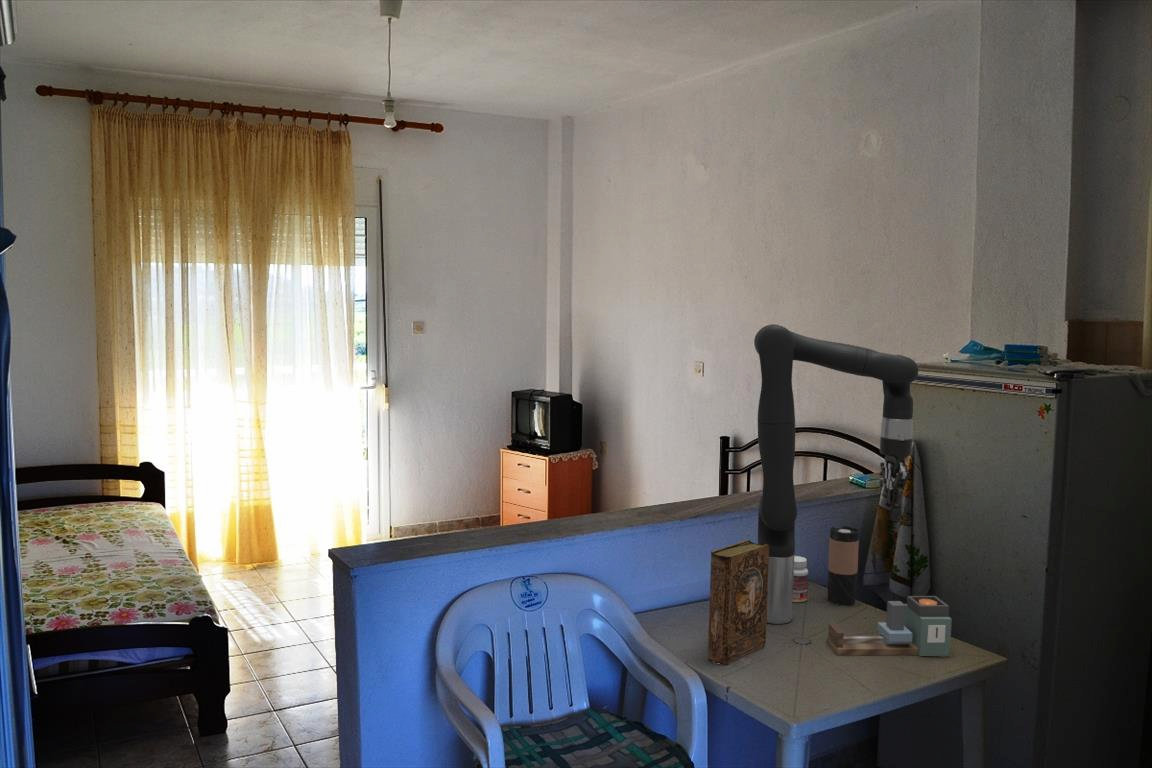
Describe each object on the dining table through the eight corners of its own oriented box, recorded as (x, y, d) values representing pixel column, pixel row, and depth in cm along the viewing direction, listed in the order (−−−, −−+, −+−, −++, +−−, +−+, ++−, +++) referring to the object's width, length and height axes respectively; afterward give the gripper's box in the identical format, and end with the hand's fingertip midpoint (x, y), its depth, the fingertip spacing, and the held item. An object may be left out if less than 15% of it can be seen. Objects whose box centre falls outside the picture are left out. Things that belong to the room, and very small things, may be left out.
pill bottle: (811, 600, 247) (813, 559, 246) (796, 604, 244) (797, 563, 243) (794, 593, 252) (796, 554, 251) (779, 597, 249) (780, 557, 248)
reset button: (922, 612, 213) (923, 604, 212) (915, 606, 217) (916, 598, 216) (939, 612, 213) (940, 604, 213) (931, 606, 217) (932, 598, 217)
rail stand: (837, 655, 210) (838, 634, 210) (826, 642, 218) (827, 621, 218) (918, 654, 211) (919, 634, 211) (903, 641, 219) (904, 621, 219)
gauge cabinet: (920, 657, 210) (923, 609, 209) (902, 639, 220) (904, 593, 219) (950, 657, 210) (953, 609, 209) (930, 639, 221) (932, 593, 220)
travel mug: (851, 608, 242) (855, 534, 239) (822, 602, 246) (826, 530, 243) (859, 600, 248) (862, 528, 246) (831, 594, 252) (834, 524, 250)
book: (724, 666, 203) (727, 558, 201) (704, 659, 207) (707, 552, 204) (765, 647, 215) (769, 543, 212) (746, 640, 219) (750, 539, 216)
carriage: (888, 646, 211) (890, 608, 210) (877, 635, 218) (879, 598, 217) (911, 646, 212) (914, 608, 211) (899, 635, 219) (901, 598, 218)
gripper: (871, 431, 232) (868, 497, 234) (892, 440, 219) (888, 510, 221) (900, 431, 233) (896, 497, 235) (922, 440, 220) (918, 510, 222)
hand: (892, 503), depth 228 cm, fingers closed
